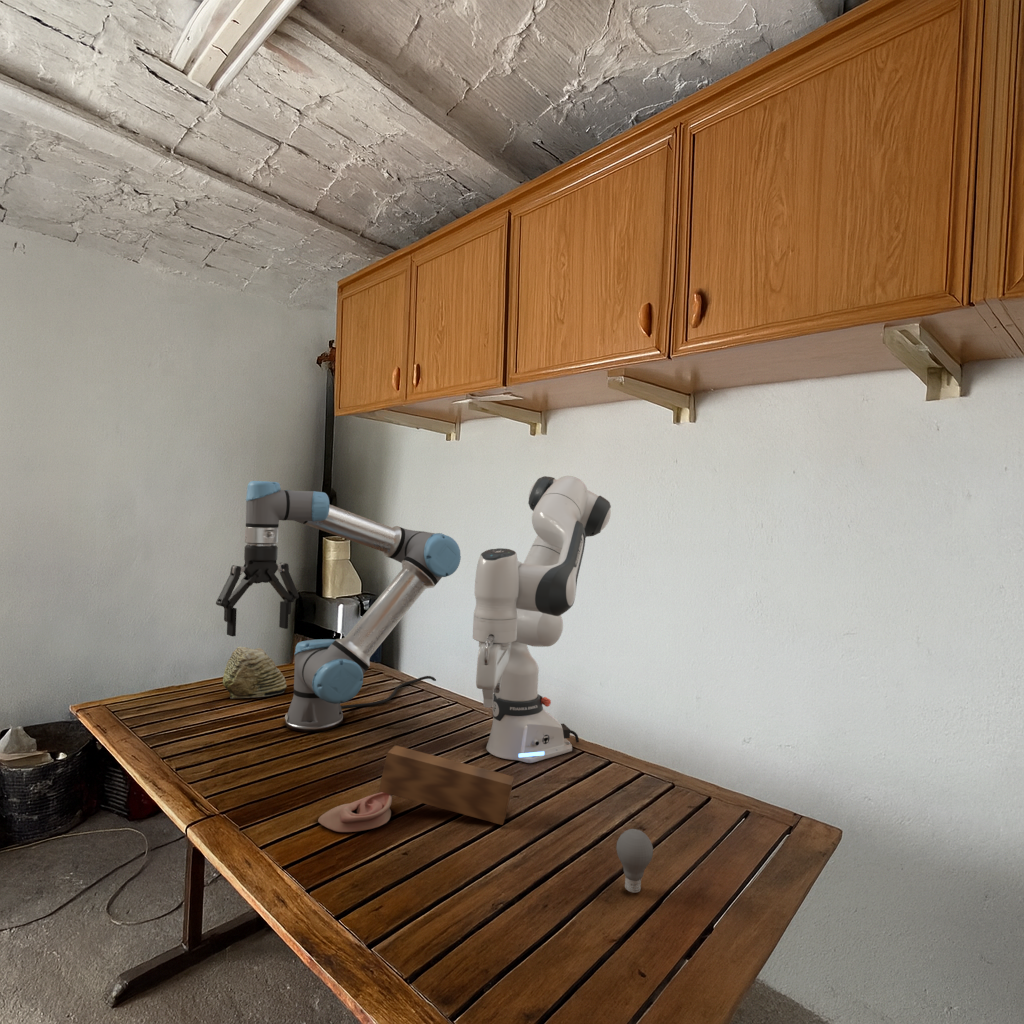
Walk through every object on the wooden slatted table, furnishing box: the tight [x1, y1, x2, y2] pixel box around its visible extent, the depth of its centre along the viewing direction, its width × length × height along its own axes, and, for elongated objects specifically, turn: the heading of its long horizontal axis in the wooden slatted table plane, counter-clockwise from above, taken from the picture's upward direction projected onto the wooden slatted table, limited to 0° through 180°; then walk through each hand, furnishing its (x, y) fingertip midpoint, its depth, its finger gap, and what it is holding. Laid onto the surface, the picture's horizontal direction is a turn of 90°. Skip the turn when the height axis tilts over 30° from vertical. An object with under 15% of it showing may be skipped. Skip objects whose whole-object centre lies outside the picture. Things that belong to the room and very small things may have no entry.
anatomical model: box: [317, 791, 393, 833], centre depth 125 cm, size 13×4×12 cm
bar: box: [378, 745, 515, 826], centre depth 129 cm, size 26×6×8 cm, turn 83°
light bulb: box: [615, 828, 654, 894], centre depth 106 cm, size 6×6×10 cm
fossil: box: [222, 646, 288, 699], centre depth 198 cm, size 9×18×15 cm, turn 132°
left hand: (258, 631), depth 154 cm, fingers open, 13 cm apart
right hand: (492, 698), depth 127 cm, fingers open, 8 cm apart
